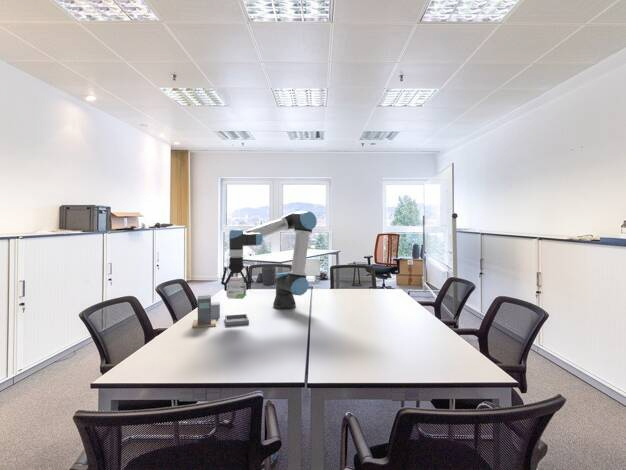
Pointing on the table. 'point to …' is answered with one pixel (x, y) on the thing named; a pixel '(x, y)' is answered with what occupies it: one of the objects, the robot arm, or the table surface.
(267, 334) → the table surface
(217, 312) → the grey block
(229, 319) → the tray
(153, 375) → the table surface
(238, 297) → the ink box
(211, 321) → the mounted unit
